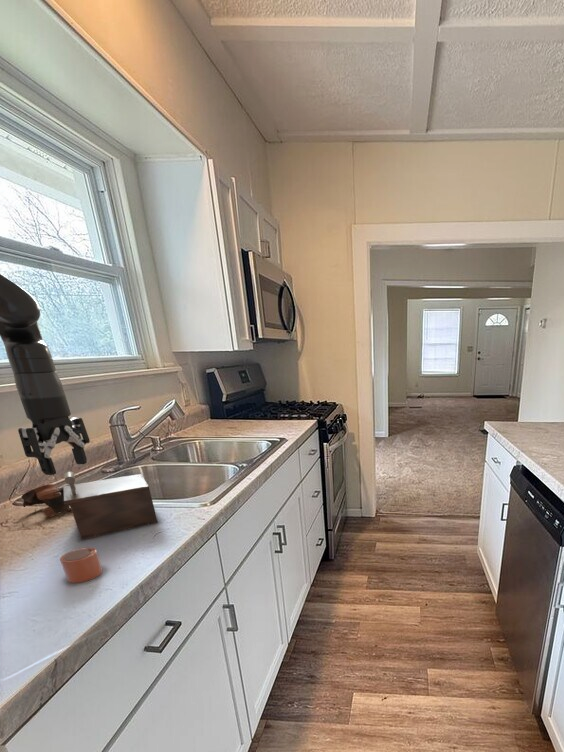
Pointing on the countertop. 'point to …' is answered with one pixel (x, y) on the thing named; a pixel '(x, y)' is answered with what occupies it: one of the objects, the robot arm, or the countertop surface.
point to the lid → (101, 487)
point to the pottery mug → (47, 499)
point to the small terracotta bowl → (81, 565)
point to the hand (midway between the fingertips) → (67, 468)
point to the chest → (113, 513)
